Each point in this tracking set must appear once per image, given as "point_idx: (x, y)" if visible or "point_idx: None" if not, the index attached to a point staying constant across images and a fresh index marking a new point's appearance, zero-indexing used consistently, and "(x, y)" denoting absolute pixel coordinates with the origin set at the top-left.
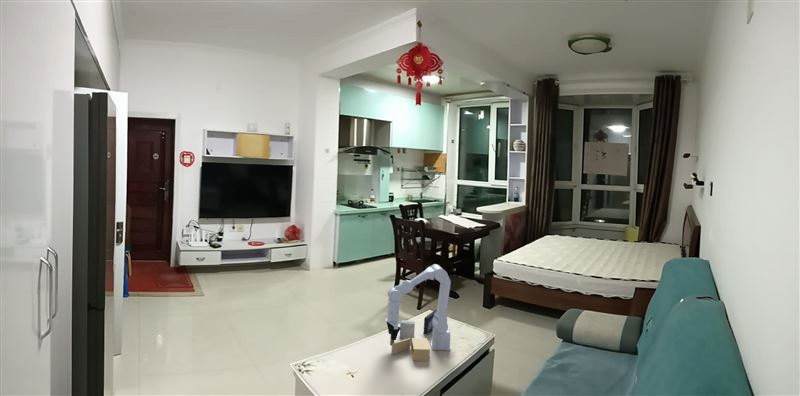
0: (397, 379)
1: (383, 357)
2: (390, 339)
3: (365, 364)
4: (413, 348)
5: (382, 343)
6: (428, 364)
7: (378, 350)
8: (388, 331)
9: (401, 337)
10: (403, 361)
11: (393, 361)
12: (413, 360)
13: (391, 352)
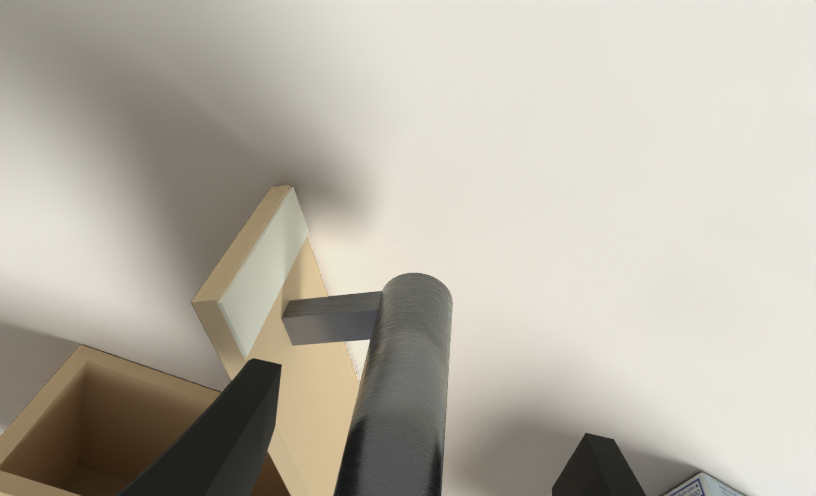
0: None
1: (218, 7)
2: (407, 352)
3: None
4: (22, 483)
5: (714, 212)
6: (3, 422)
7: (508, 28)
8: (619, 485)
9: (684, 487)
10: (67, 243)
11: (68, 116)
12: (79, 349)
13: (278, 197)
